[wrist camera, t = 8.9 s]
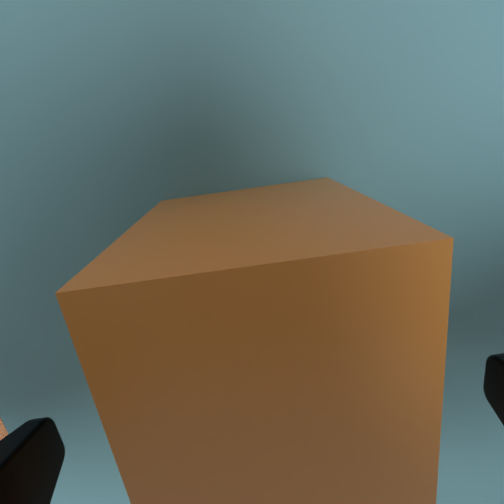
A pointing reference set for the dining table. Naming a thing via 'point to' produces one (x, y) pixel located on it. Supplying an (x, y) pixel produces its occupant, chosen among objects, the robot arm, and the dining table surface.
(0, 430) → the dining table surface
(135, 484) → the orange brick
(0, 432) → the dining table surface
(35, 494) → the robot arm
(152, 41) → the teal board
